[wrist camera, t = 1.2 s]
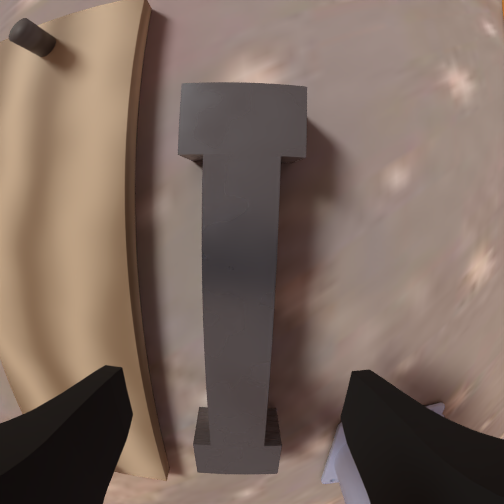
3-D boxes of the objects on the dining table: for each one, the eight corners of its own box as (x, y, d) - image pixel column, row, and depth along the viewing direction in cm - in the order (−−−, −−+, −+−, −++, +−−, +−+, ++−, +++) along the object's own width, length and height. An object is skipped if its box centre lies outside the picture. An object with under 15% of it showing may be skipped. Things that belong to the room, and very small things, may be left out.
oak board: (151, 8, 13) (129, -33, 8) (169, 467, 20) (160, 509, 15) (1, 52, 12) (-37, 36, 8) (47, 439, 19) (28, 470, 15)
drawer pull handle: (292, 106, 14) (306, 86, 11) (272, 437, 19) (277, 473, 15) (194, 104, 14) (181, 83, 11) (202, 436, 19) (197, 472, 15)
